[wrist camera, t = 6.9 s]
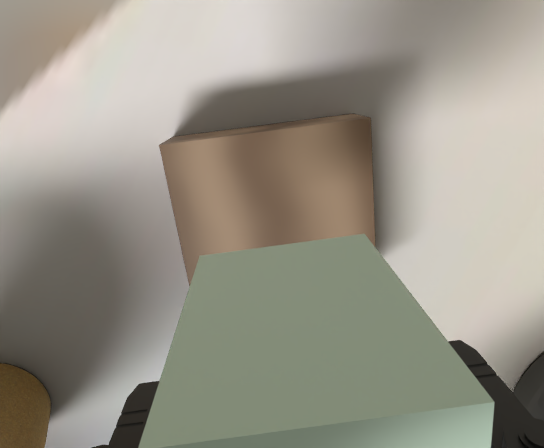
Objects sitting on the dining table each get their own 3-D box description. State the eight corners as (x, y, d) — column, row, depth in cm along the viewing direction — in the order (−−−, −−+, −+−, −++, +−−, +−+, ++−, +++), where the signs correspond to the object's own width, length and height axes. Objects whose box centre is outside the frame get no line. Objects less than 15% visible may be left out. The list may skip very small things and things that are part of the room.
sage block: (364, 233, 14) (494, 401, 6) (371, 368, 16) (477, 618, 8) (199, 255, 14) (137, 450, 6) (226, 388, 16) (203, 655, 8)
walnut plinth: (353, 113, 26) (370, 117, 22) (361, 275, 30) (377, 303, 26) (172, 136, 26) (159, 145, 22) (205, 296, 30) (198, 326, 26)
